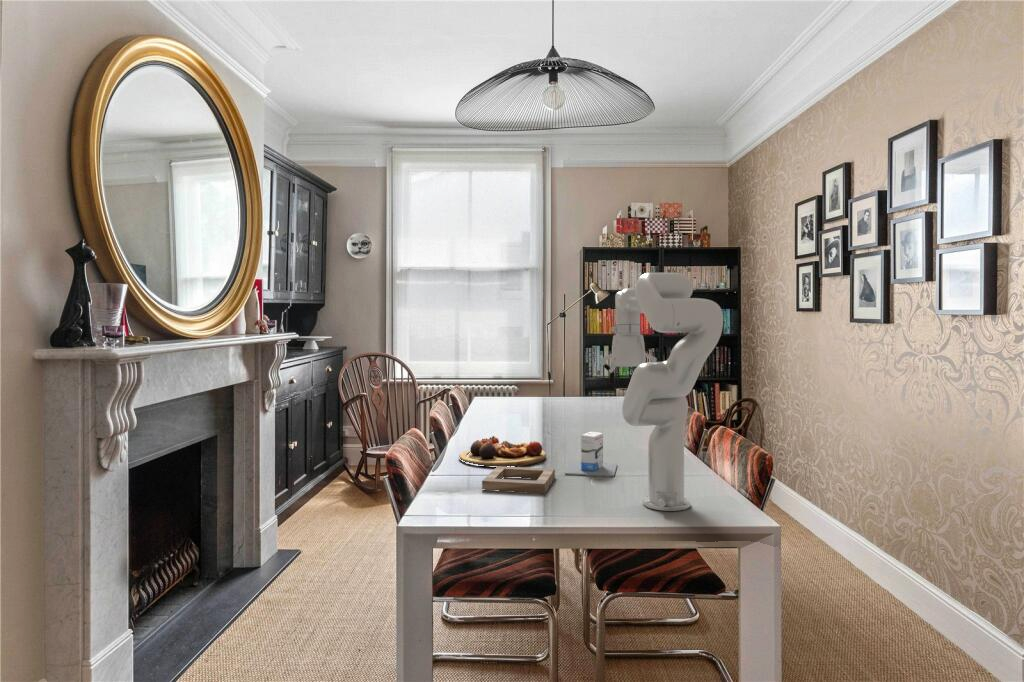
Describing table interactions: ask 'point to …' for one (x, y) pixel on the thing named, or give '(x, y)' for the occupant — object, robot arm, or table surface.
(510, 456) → the wooden plate with food
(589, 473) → the slate grey mat
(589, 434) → the ink box
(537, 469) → the square wooden frame
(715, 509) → the table surface
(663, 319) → the robot arm
